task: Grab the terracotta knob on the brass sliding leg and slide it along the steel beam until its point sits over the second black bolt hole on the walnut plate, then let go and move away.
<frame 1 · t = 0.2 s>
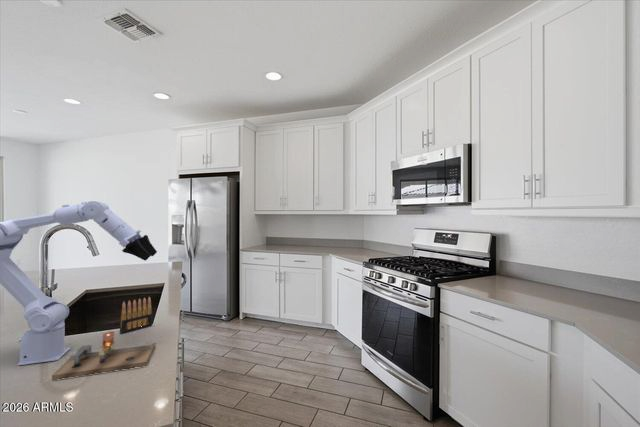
hand: (151, 256, 97), 31 cm above the counter, tool tilted 45°, fingers open, 7 cm apart
ammunition clip: (136, 330, 110), on the counter
hole plate: (109, 362, 85), on the counter
steel beam: (112, 351, 87), on the hole plate, point 2 cm above the counter
sliding leg: (106, 346, 85), point 5 cm above the counter, slide at 0.0 cm
fixed leg: (81, 355, 82), on the hole plate, point 3 cm above the counter
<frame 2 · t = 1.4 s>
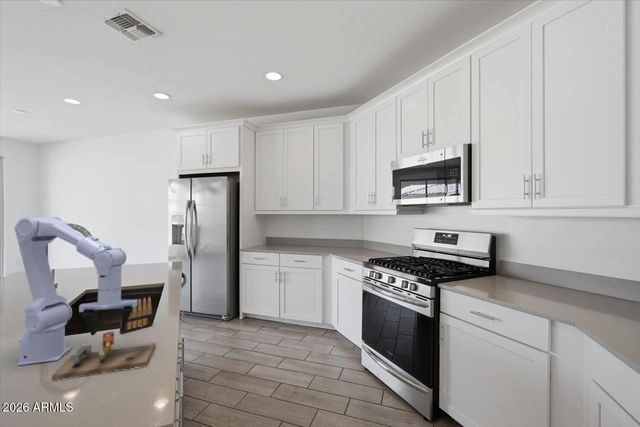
hand: (108, 332, 86), 8 cm above the counter, tool pointing down, fingers open, 7 cm apart
nothing on the counter moved.
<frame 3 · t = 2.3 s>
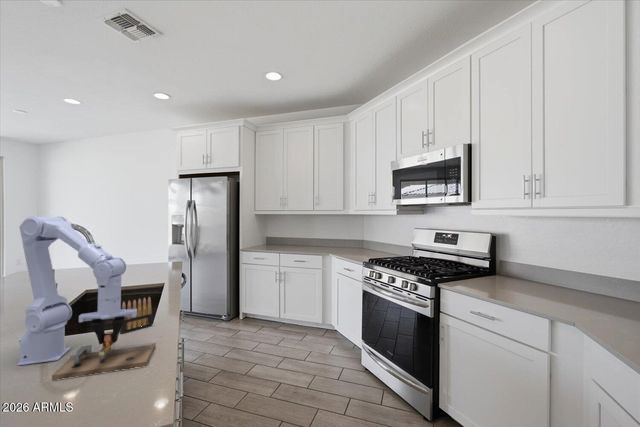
hand: (108, 342, 86), 5 cm above the counter, tool pointing down, fingers closed on sliding leg, 3 cm apart
sliding leg: (106, 346, 85), point 5 cm above the counter, slide at 0.0 cm, touching gripper
everything else where it was.
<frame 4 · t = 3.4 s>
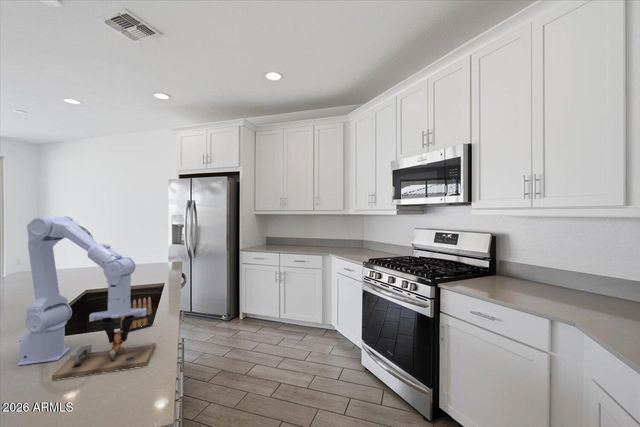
hand: (118, 341, 87), 5 cm above the counter, tool pointing down, fingers closed on sliding leg, 3 cm apart
sliding leg: (116, 345, 85), point 5 cm above the counter, slide at 2.6 cm, touching gripper
everything else where it was.
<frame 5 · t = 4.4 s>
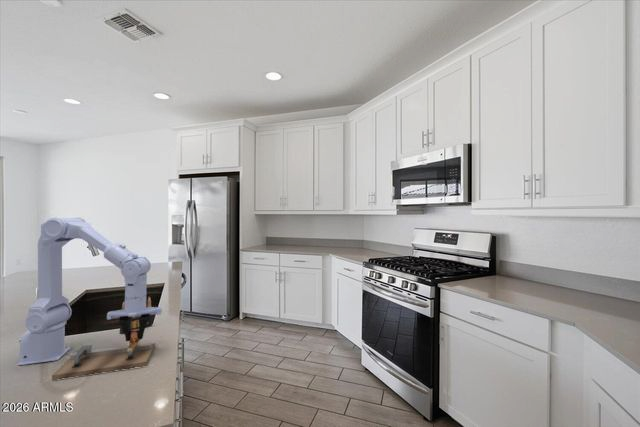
hand: (134, 339, 89), 5 cm above the counter, tool pointing down, fingers closed on sliding leg, 3 cm apart
sliding leg: (133, 343, 87), point 5 cm above the counter, slide at 7.0 cm, touching gripper
everything else where it was.
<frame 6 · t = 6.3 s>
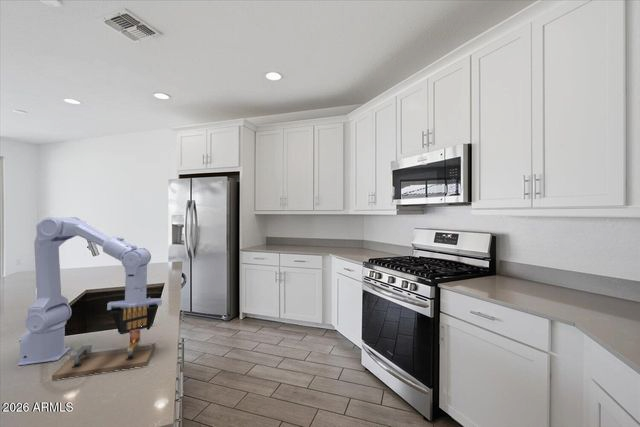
hand: (134, 329, 89), 8 cm above the counter, tool pointing down, fingers open, 7 cm apart
sliding leg: (133, 343, 87), point 5 cm above the counter, slide at 7.0 cm
everything else where it was.
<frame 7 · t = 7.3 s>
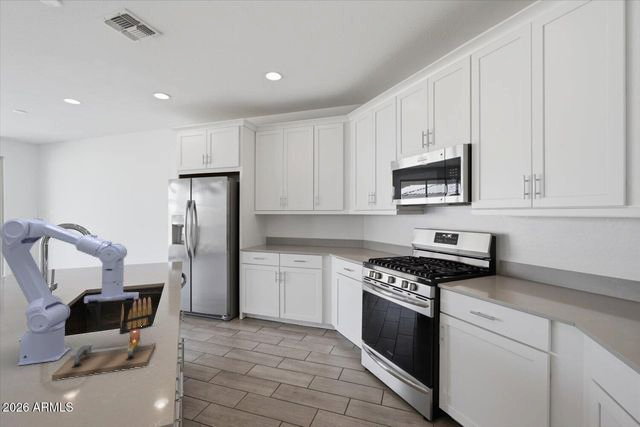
hand: (111, 322, 92), 9 cm above the counter, tool pointing down, fingers open, 7 cm apart
nothing on the counter moved.
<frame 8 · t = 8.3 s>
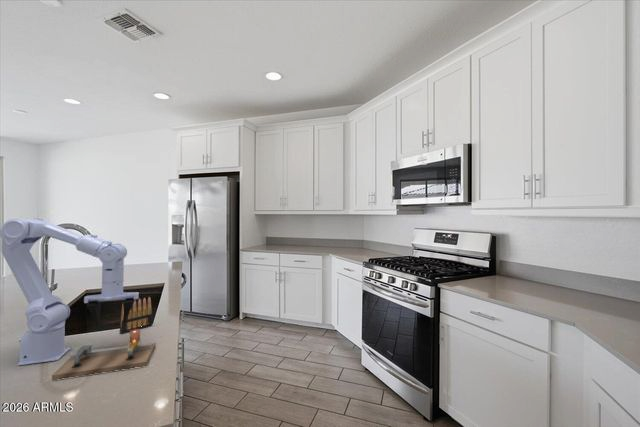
hand: (111, 322, 92), 9 cm above the counter, tool pointing down, fingers open, 7 cm apart
nothing on the counter moved.
at the end: sliding leg slide at 7.0 cm; the gripper is holding nothing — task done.
